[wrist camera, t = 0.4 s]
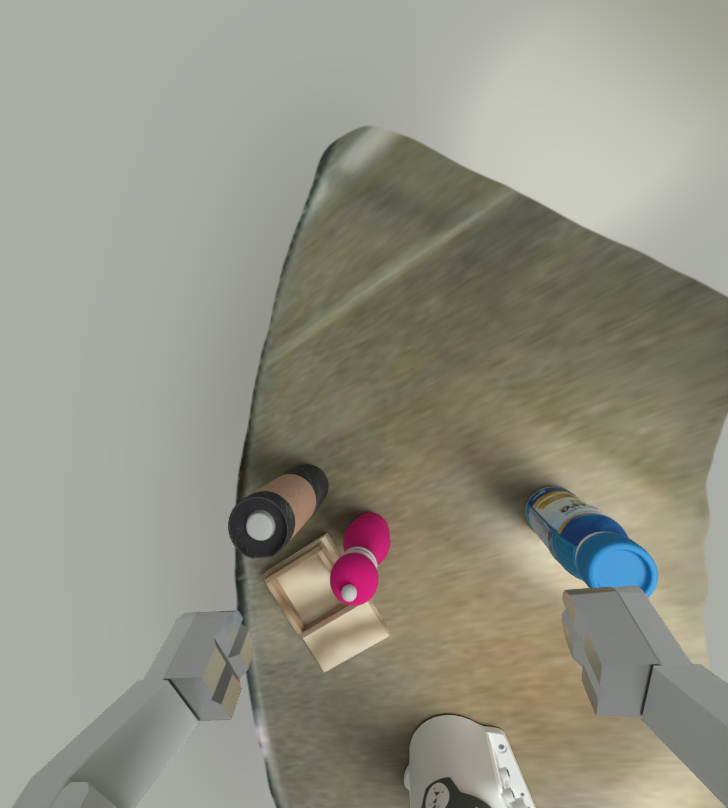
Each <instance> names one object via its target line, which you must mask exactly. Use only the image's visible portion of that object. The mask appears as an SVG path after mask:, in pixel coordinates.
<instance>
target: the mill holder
mask: <svg viewBox="0 0 728 808" xmlns="http://www.w3.org/2000/svg"><path fill="white" fill-rule="evenodd" d="M341 556H342V555H341V553H340V552H339V550H338V549H337V547H336V546H335V544H334V543H333V541H332V539H331V538H330V536H329V535H328V533H326V534H324V535H323V536H321V537H320V538H318V539H317V540H315V541H313V542H312V543H310V544H309V545H307V546H305V547H304V548H302V549H301V550H299V551H297V552H296V553H294V554H293V555H291V556H289V557H288V558H286V559H285V560H283V561H281V562H280V563H278V564H277V565H275V566H273V567H272V568H270V569H269V570H267V571H266V572H265V573H264V577H265V579H264V581H265V583H266V585H267V586H268V588H269V589H270V591H271V593H272V594H273V596H274V597H275V599H276V601H277V602H278V604H279V605H280V607H281V609H282V610H283V612H284V613H285V615H286V617H287V618H288V620H289V621H290V623H291V625H292V626H293V628H294V629H295V631H296V633H297V634H298V636H299V637H300V639H304V641H305V642H306V644H307V646H308V647H309V649H310V650H311V652H312V654H313V655H314V657H315V658H316V660H317V661H318V663H319V665H320V666H321V668H322V669H323V671H324V672H326V671H328V670H330V669H331V668H333V667H335V666H337V665H339V664H340V663H342V662H344V661H346V660H347V659H349V658H351V657H353V656H355V655H356V654H358V653H360V652H362V651H363V650H365V649H367V648H369V647H371V646H372V645H374V644H376V643H378V642H379V641H381V640H383V639H385V638H387V637H388V636H389V633H390V630H389V628H388V627H387V625H386V623H385V622H384V620H383V619H382V617H381V616H380V614H379V613H378V611H377V609H376V608H375V606H374V605H373V603H372V602H371V600H369V601H367V602H366V603H364V604H362V605H359V606H350V605H346V604H344V603H342V602H341V601H339V600H338V599H337V598H336V597H335V595H334V594H333V592H332V589H331V586H330V573H331V570H332V567H333V565H334V564H335V562H336V561H337V560H338V559H339V558H340V557H341Z"/></svg>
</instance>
